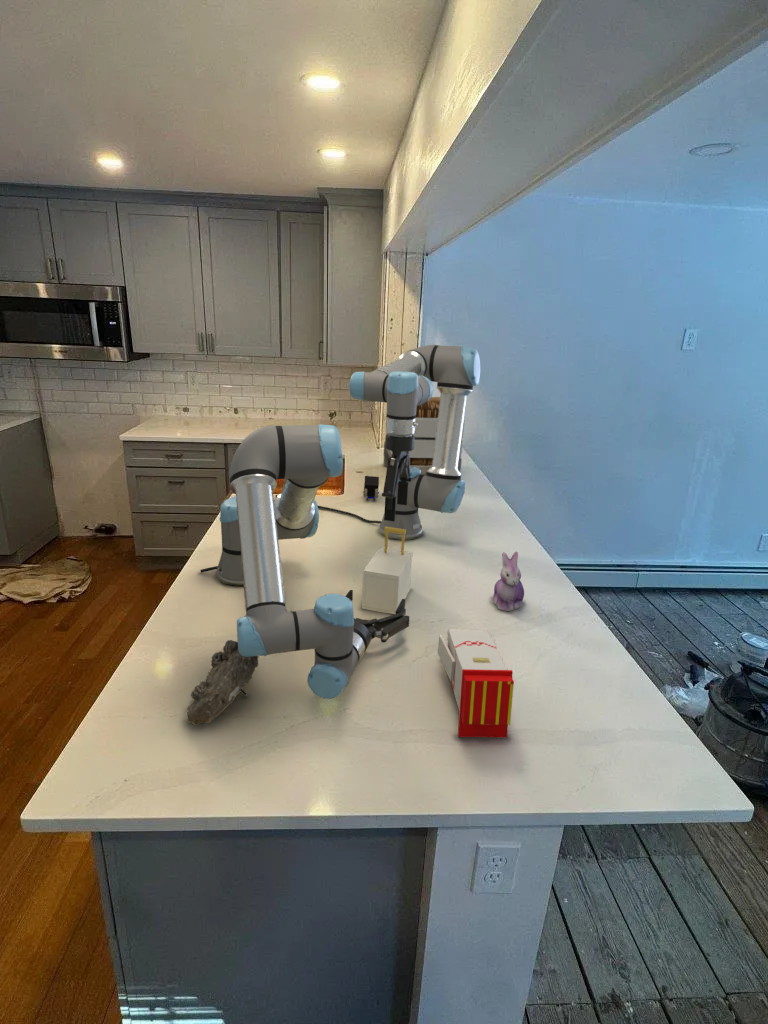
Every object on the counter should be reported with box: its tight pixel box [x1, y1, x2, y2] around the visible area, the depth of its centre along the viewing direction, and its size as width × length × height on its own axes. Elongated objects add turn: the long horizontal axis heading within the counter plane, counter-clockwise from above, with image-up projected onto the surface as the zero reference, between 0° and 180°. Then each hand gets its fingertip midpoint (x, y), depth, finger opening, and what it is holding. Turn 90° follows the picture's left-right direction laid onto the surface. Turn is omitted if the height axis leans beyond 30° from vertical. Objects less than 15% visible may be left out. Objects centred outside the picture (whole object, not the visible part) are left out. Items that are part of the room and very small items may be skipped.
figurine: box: [492, 551, 525, 612], centre depth 152 cm, size 9×10×15 cm
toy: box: [437, 628, 515, 738], centre depth 117 cm, size 12×13×30 cm
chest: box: [361, 558, 413, 615], centre depth 153 cm, size 15×10×10 cm, turn 165°
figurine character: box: [362, 475, 380, 502], centre depth 236 cm, size 7×8×15 cm
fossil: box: [186, 639, 259, 726], centre depth 113 cm, size 22×10×15 cm
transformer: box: [383, 396, 465, 474], centre depth 268 cm, size 34×33×41 cm
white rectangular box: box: [362, 527, 414, 581], centre depth 150 cm, size 16×10×9 cm, turn 165°
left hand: (377, 599), depth 142 cm, fingers open, 13 cm apart
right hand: (396, 512), depth 152 cm, fingers open, 13 cm apart
